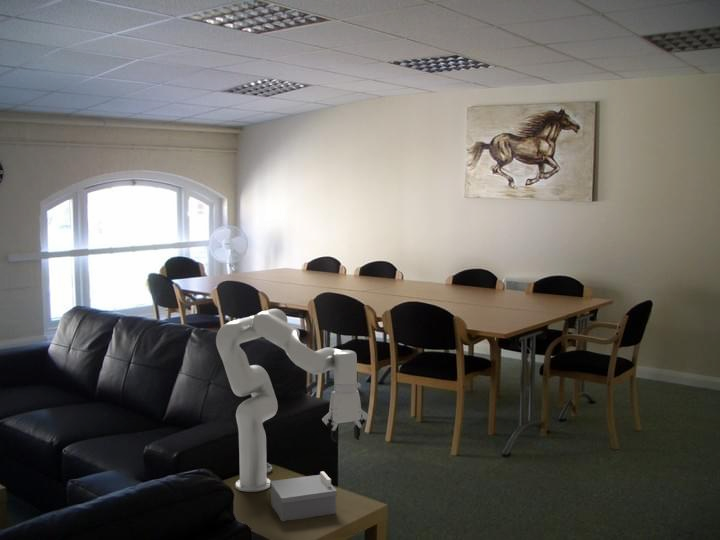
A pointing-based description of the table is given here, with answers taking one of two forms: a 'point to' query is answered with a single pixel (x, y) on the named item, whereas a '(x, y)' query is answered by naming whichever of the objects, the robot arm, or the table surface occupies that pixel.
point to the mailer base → (303, 507)
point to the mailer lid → (304, 488)
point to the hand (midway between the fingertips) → (345, 439)
